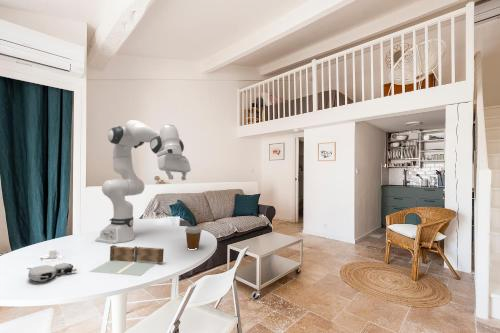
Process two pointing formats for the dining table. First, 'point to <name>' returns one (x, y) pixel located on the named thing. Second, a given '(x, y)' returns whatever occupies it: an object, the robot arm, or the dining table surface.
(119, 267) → the card
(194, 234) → the disposable coffee cup
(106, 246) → the dining table surface
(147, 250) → the hinged fence panel
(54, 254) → the teacup and saucer
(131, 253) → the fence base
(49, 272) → the robot toy
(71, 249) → the dining table surface
